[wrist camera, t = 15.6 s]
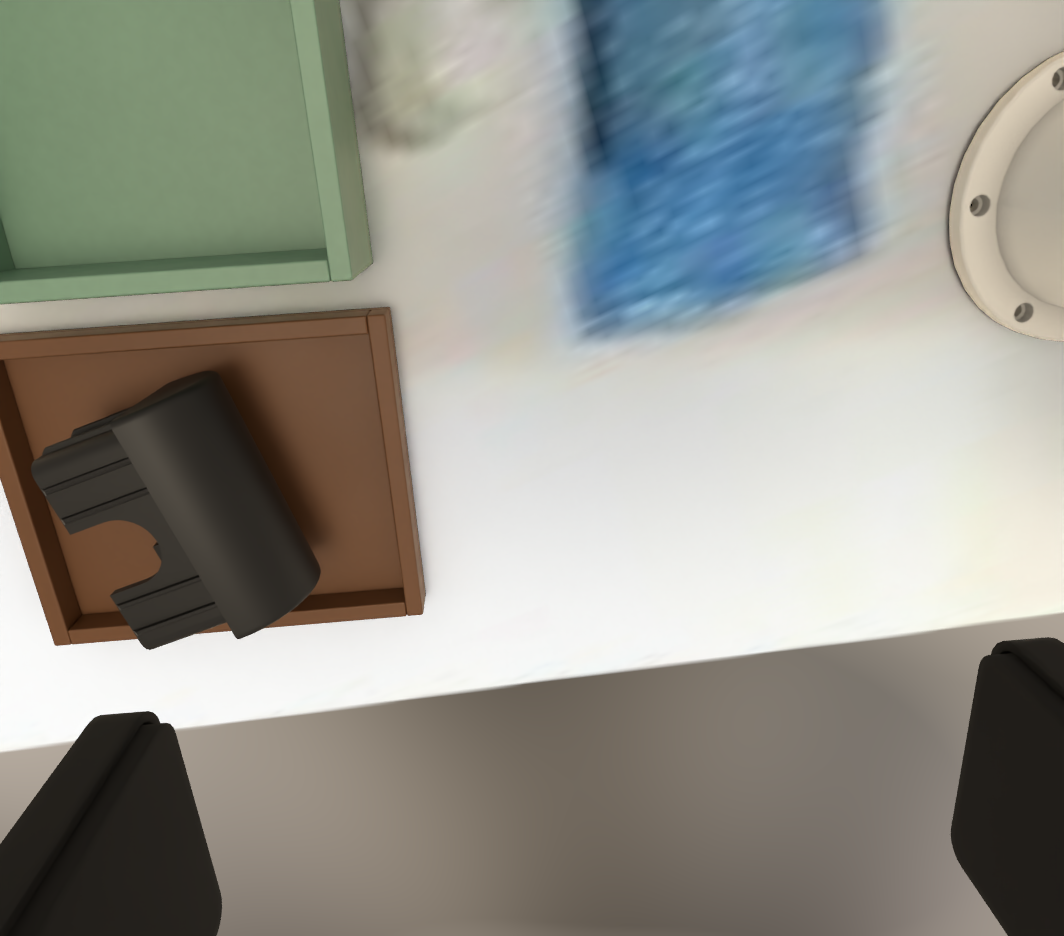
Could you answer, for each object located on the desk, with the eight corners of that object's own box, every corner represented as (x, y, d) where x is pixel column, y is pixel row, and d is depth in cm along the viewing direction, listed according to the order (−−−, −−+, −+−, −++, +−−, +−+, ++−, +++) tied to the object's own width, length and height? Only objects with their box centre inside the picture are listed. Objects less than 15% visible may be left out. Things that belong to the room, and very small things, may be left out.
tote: (316, -178, 28) (277, -263, 23) (373, 263, 34) (352, 280, 28) (-127, -158, 28) (-275, -239, 22) (6, 288, 33) (-87, 310, 28)
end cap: (336, 543, 38) (307, 617, 31) (203, 591, 38) (148, 673, 32) (239, 353, 34) (185, 393, 28) (93, 408, 35) (7, 460, 28)
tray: (390, 306, 34) (385, 314, 33) (425, 594, 40) (423, 615, 38) (-16, 334, 34) (-45, 344, 32) (74, 623, 39) (54, 646, 37)
